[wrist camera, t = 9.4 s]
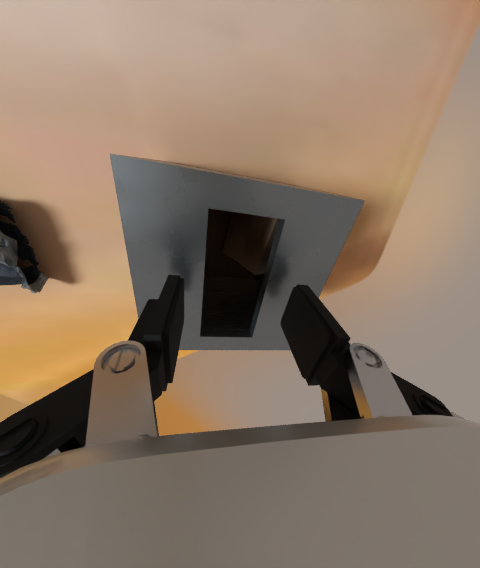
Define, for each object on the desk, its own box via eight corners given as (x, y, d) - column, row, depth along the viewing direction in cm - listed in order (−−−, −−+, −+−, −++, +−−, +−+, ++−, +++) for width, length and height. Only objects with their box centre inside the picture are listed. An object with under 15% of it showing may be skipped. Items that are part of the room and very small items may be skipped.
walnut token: (238, 191, 17) (280, 208, 14) (252, 195, 18) (293, 211, 15) (222, 251, 19) (255, 275, 17) (235, 250, 21) (267, 272, 18)
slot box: (165, 161, 16) (109, 153, 7) (293, 185, 18) (364, 200, 10) (170, 280, 22) (144, 349, 13) (265, 286, 24) (293, 350, 16)
